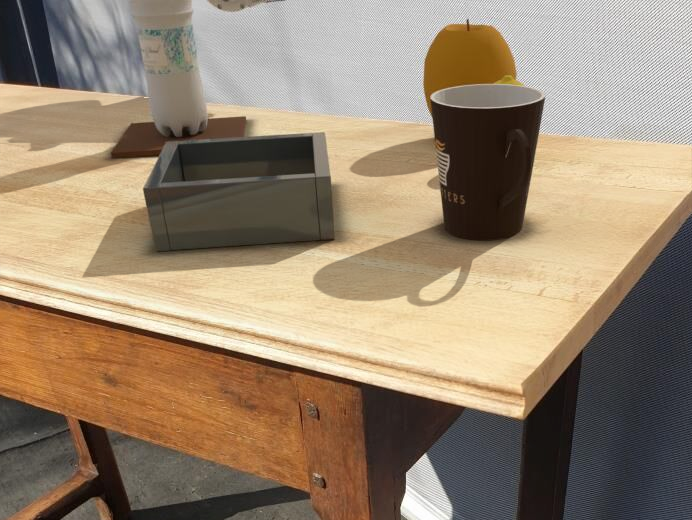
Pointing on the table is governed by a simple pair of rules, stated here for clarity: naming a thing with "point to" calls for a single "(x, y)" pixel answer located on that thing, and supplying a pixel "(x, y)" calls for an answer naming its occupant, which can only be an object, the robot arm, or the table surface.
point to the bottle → (171, 65)
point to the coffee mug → (485, 156)
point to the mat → (172, 136)
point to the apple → (466, 58)
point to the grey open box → (240, 192)
